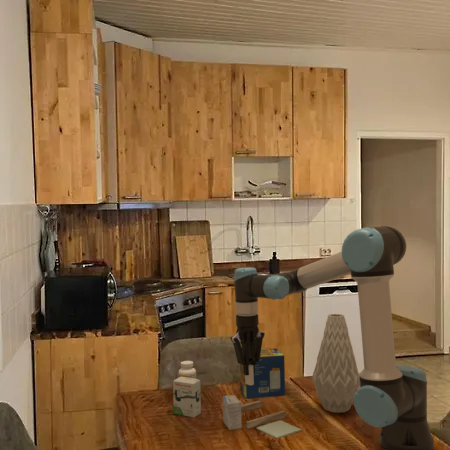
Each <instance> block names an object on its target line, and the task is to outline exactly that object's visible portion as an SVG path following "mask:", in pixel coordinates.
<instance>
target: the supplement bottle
mask: <svg viewBox="0 0 450 450" xmlns="http://www.w3.org/2000/svg"><path fill="white" fill-rule="evenodd" d="M179 377H187V378H193V379H197V370H196V368H194V361H193V360H184V361H181V362H180V368H179V370H178V378H179Z"/></svg>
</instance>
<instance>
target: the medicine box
mask: <svg viewBox="0 0 450 450" xmlns="http://www.w3.org/2000/svg"><path fill="white" fill-rule="evenodd" d="M241 405H242V403H241V401H240V400H239V399H238V398H237V396H236V395H235V394H233V395H231V394H230V395H224V396H222V410H223V416H222V420H223V423H224V424H225V426H226V427H227V429H228V430H229V431H232V430H241V429H242V427H243V425H242V412H241Z"/></svg>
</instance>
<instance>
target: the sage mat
mask: <svg viewBox="0 0 450 450" xmlns="http://www.w3.org/2000/svg"><path fill="white" fill-rule="evenodd" d="M256 430H258V431H260V432H262V433H264V434H266V435H268V436H270V437H272V438H275V439H278V440H279V439H281V438H284V437H287V436H290V435H293V434H296V433H299V432H301V431H302V429H301V428H299V427H296V426H294V425H291V424H290V423H287V422H285V421H283V420H281V419H279V420H276V421H273V422H269V423H266V424H263V425H259V426H256Z"/></svg>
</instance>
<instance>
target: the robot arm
mask: <svg viewBox="0 0 450 450" xmlns="http://www.w3.org/2000/svg"><path fill="white" fill-rule="evenodd" d="M406 251H407V242H406V239H405V237H404V235H403V234H402V232H400V230H398V229H396V228H395V227H392V226H387V225H386V226H383V225H382V226H375V227H374V226H373V227H371V226H370V227H362V228H358V229H355V230H353V231H351V232H349V234H347V236H346V237H345V239H344V240H343V242H342V246H341V251H339V252H337V253H334V254H332V255H329V256H326V257H323V258H321V259H318V260H316V261H314V262H311V263H309V264H306V265H304V266H301V267H299V268H295V269H293V270H290V271H288V272H287V271H286V272H279V273H274V274H258V272H257V269H256V268H255V267H238V268H236V269H235V270H234V275H233V276H234V278H233V282H234V283H233V284H234V295H235V297H234V298H235V314H236V316H235V325H236V331H235V333H236V334H235V335H234V336H231V337H230V341H231V342H232V344H233V348H234V351H235V356H236V357H235V358H236V361H237V364H238V365H240V364H241V365H243V373H244V375H245V384H248V385H254V374H255V365H256V364H257V363H256V362H259V360H260V354H261V350H262V346H263V339H264V338H265V334H266V333H265V332H262V331H260V329H259V315H258V313H259V301H258V298H259V299H260V298H261V299H269V300H283V299H284V298H286V297H287V296H289V295H293V294H300V293H304V292H306V291H307V290H308V289H312V288H314V287H317V286H319V285H323V284H325V283H329V282H331V281H334V280H337V279H341V278H344V277H345V276H349V275H350V277H351V279H352V280H353V281H355V282H356V283H357V293H358V306H359V307H358V308H359V318H360V333H361V341H362V343H361V344H362V345H361V346H362V355H363V369H362V370H361V371H360V372H359V377H360V386H359V387H358V389H357V391H356V393H355V395H354V402H353V406H354V408H355V412H356V413H357V415H358V416H359V417H360V418H361V419H362V420H363V421H364V422H365V423H366V424H367V425H369V426H371V427H375V428H381V431H380V433H379V444H380V445H381V447H383V448H384V449H385V450H434V446H435V443H434V442H435V441H434V437H433V435H432V431H431V429H430V426H429V423H428V405H427V404H428V380H427V373H426V372H425V370H423V369H422V368H420V367H416V366H411V365H404V364H403V365H402V364H396V363H397V362H396V351H395V340H394V339H395V337H394V326H393V316H392V315H393V314H392V304H391V303H392V302H391V289H390V280H391V279H392V278H393V277H394V275H395V270H394V269H395V268H394V265H397V264H398V263H399V262H401V261H402V260H403V258H404V257H405V255H406Z"/></svg>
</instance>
